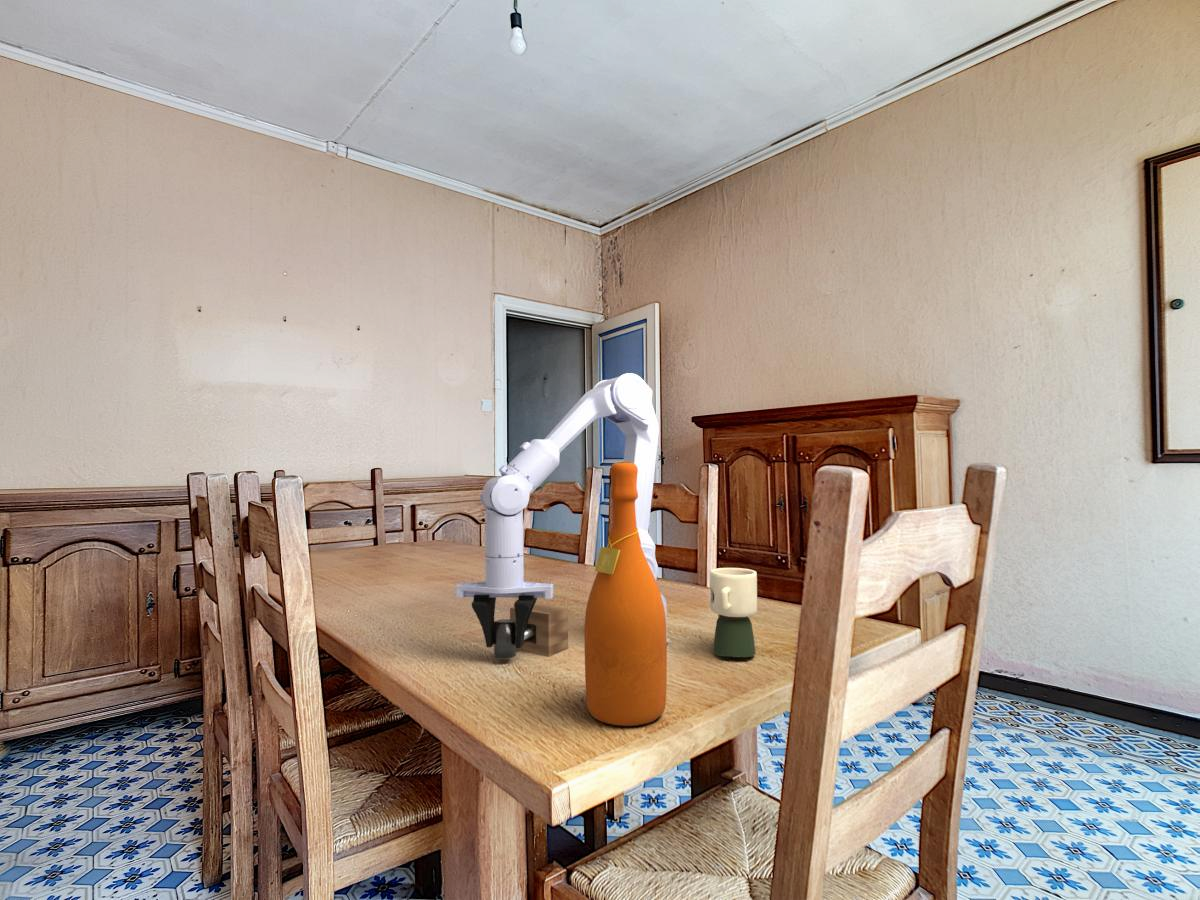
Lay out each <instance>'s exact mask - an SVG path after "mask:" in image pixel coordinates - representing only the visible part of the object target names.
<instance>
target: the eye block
mask: <svg viewBox="0 0 1200 900" xmlns="http://www.w3.org/2000/svg"><path fill="white" fill-rule="evenodd" d="M509 619H512V620H515V621H516V616H515V607H514V606H511V607H509ZM534 626H536V636H533V637H530V638H528V639H525V640H524V643H523V645H522V647H521V648H516V651H521V652H522V651H523V652H527V653H530V654H536V655H541V656H544V657H551V656H553V655H555V654H558V653H560V652H563V651H565V650H568V649H569V607H565V606H560V605H554V604H553V605H552V604H546V603H542V602H541V603H540V602H536V603H535V605H534V607H533V609H532V612H531V614H530V617H529V620H528V623H527V627H526V629H528V628H531V627H534Z"/></svg>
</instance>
